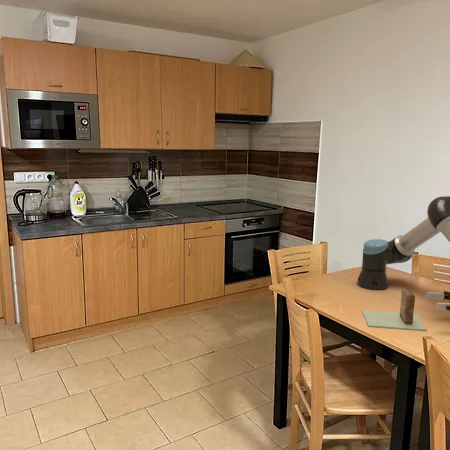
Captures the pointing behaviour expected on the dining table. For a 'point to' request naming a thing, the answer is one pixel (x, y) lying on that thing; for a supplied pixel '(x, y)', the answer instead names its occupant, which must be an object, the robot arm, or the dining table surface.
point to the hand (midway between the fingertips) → (431, 300)
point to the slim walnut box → (407, 306)
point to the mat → (391, 320)
